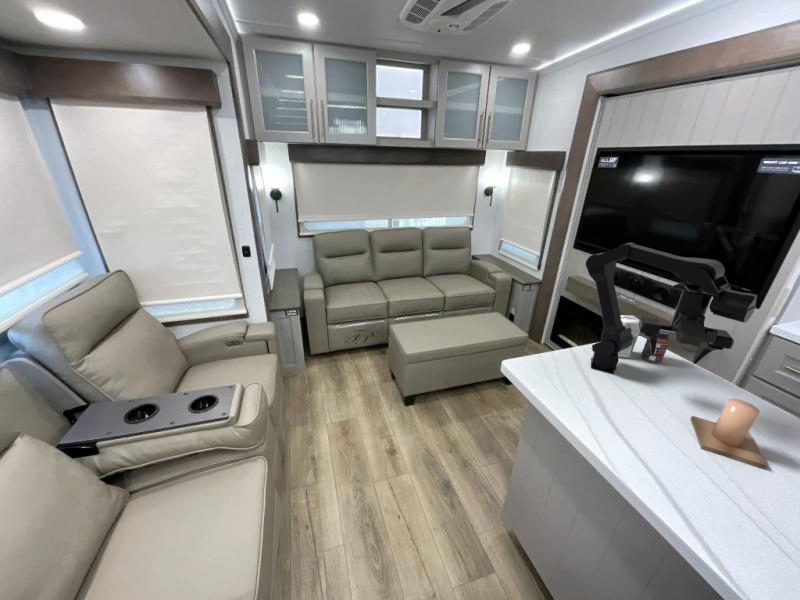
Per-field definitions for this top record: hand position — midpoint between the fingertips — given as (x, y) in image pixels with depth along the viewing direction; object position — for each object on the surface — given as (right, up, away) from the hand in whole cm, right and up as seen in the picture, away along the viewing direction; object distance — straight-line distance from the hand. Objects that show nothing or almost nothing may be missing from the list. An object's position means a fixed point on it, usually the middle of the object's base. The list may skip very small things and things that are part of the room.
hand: (672, 358), depth 87 cm
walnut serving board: (+4, -19, -10) cm, 22 cm away
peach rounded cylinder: (+4, -18, -11) cm, 21 cm away
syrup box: (+2, -3, +26) cm, 26 cm away
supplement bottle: (+12, -5, +22) cm, 26 cm away
